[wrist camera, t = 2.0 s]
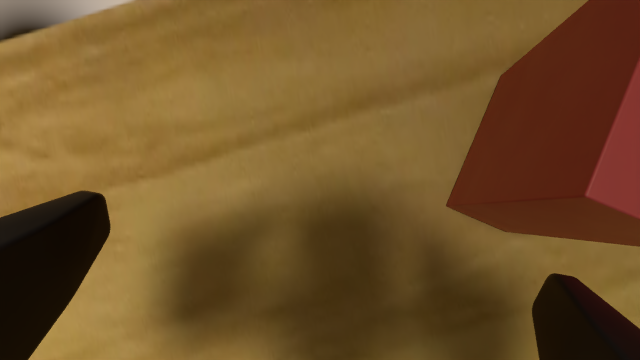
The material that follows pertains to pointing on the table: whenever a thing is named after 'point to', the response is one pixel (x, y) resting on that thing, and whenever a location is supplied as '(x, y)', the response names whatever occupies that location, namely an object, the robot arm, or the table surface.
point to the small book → (564, 135)
